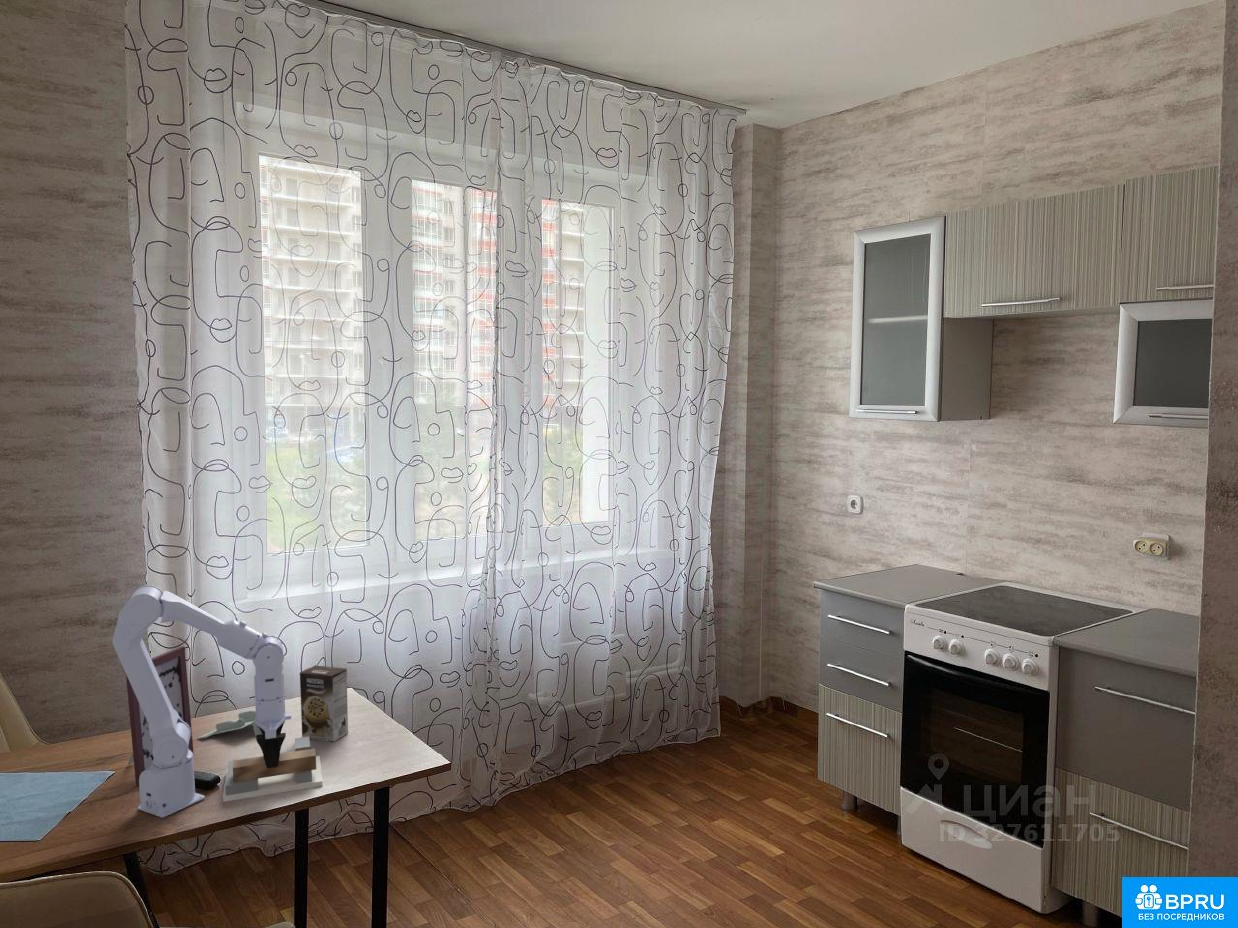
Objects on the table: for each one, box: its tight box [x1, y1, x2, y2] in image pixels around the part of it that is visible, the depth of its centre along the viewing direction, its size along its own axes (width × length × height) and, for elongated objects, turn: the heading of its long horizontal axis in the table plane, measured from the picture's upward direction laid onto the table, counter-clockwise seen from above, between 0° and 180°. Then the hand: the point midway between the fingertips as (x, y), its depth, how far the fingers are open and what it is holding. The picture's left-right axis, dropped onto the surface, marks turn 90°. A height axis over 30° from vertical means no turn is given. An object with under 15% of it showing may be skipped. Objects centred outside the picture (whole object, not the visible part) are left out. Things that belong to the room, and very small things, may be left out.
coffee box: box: [299, 665, 349, 742], centre depth 210 cm, size 9×6×16 cm
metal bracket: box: [196, 709, 262, 740], centre depth 214 cm, size 14×6×15 cm
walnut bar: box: [233, 748, 317, 782], centre depth 184 cm, size 16×4×3 cm, turn 111°
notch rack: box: [222, 736, 323, 803], centre depth 187 cm, size 19×14×6 cm
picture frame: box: [125, 646, 195, 786], centre depth 193 cm, size 17×10×25 cm, turn 168°
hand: (272, 759), depth 183 cm, fingers open, 7 cm apart
